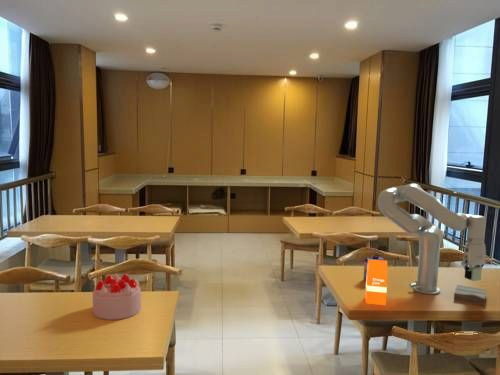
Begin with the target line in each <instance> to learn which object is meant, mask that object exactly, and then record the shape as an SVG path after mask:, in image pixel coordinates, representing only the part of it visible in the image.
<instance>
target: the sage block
mask: <svg viewBox="0 0 500 375" xmlns="http://www.w3.org/2000/svg"><path fill="white" fill-rule="evenodd" d="M468 267H469V265H468ZM471 271H472V274H471V279H467V278H465V276H464V279H466V280H469V281H471V282H475V281H481V279H482V271H483V267H482V268H481V267H478V266H472V268H471Z"/></svg>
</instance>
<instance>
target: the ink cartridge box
mask: <svg viewBox="0 0 500 375" xmlns="http://www.w3.org/2000/svg"><path fill="white" fill-rule="evenodd" d="M368 259H370V260H383V261H386V259H385V258H383V257H381V256H380V254H375V255H373V257H370V256H369V257H365V258H364V265H363V266H364V268H363V280H364V281H366V276H367V265H368Z"/></svg>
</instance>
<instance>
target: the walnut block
mask: <svg viewBox="0 0 500 375" xmlns="http://www.w3.org/2000/svg"><path fill="white" fill-rule="evenodd" d="M486 297H487V289H482V288H478V287H471V286H465V285H460V284H459V285H458V284H457V285H456V288H455V291H454V294H453V301H455V302H461V303H467V304H472V305H477V306H482V307H485V305H486Z"/></svg>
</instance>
